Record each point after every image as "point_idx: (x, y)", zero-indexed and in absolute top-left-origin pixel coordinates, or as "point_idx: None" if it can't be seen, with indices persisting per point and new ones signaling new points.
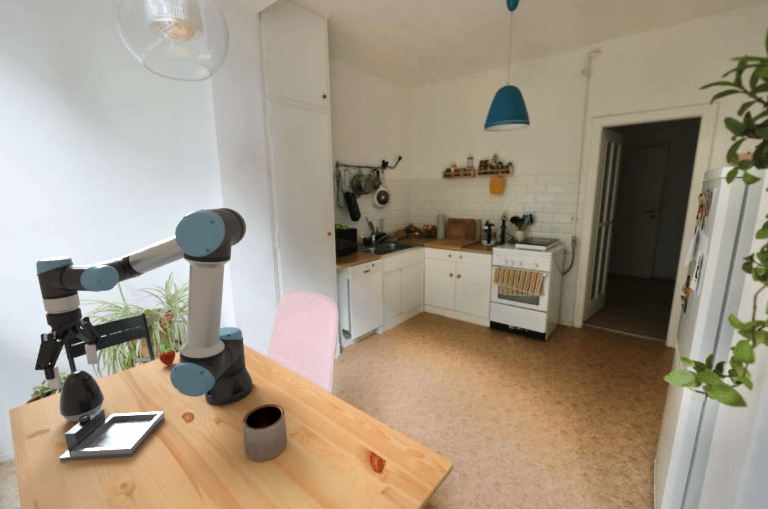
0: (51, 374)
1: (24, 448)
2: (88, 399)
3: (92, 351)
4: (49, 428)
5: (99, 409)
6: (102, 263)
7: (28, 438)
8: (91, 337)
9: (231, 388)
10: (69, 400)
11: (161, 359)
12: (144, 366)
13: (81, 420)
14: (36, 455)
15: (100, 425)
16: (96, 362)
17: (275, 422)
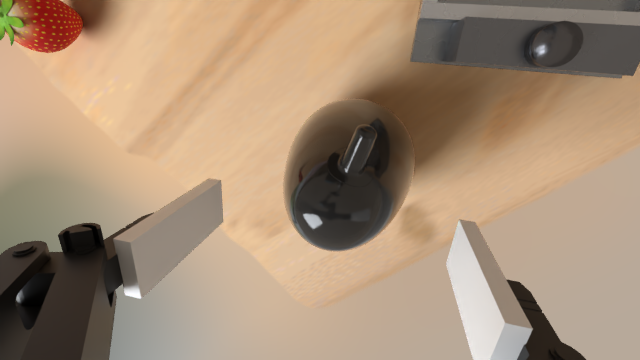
0: (529, 310)
1: (483, 221)
2: (388, 122)
3: (169, 229)
4: (400, 210)
5: (462, 36)
6: None
7: (434, 236)
8: (55, 299)
9: None
10: (410, 181)
11: (62, 33)
12: (99, 116)
13: (580, 43)
14: (537, 171)
15: (495, 17)
16: (215, 184)
17: None
